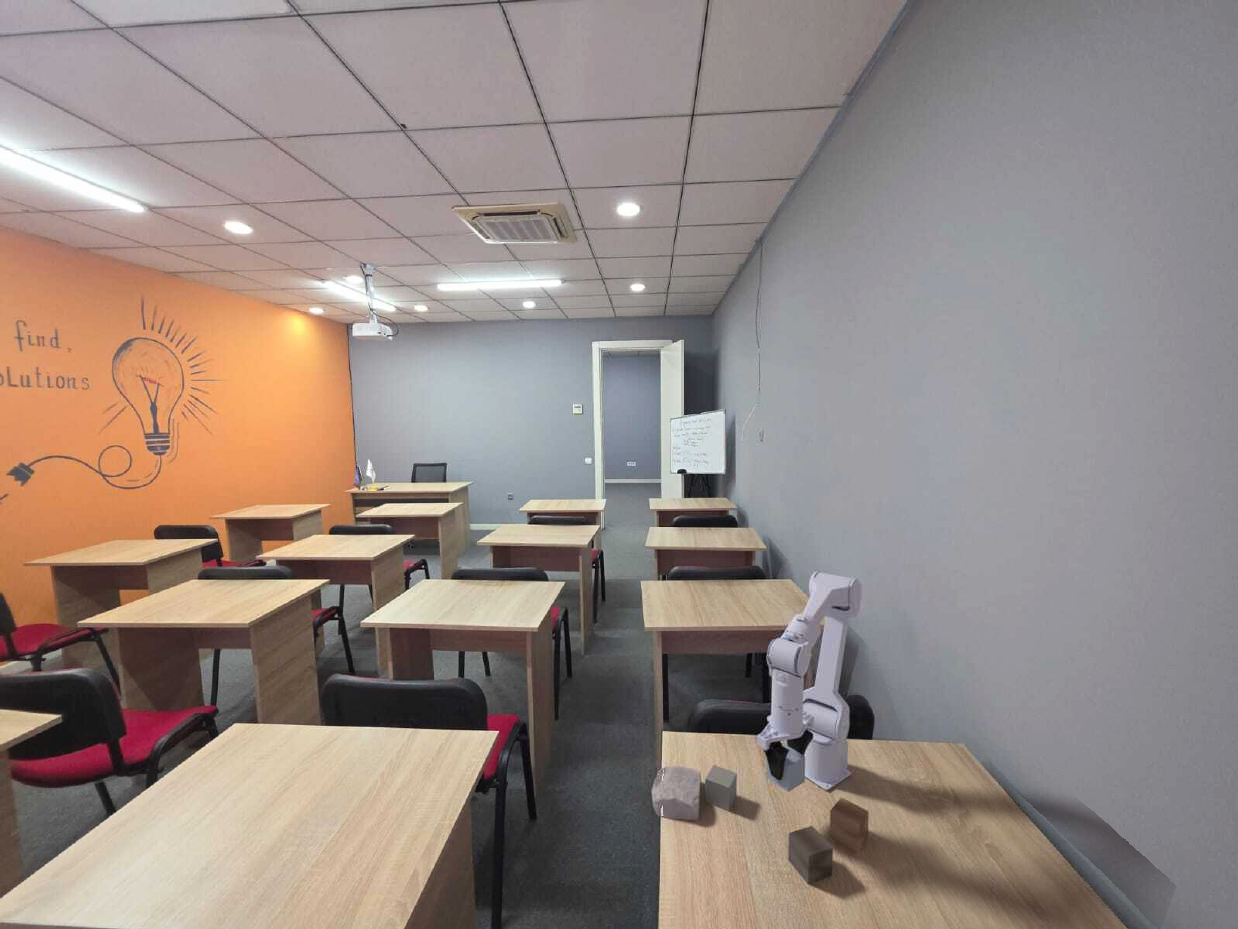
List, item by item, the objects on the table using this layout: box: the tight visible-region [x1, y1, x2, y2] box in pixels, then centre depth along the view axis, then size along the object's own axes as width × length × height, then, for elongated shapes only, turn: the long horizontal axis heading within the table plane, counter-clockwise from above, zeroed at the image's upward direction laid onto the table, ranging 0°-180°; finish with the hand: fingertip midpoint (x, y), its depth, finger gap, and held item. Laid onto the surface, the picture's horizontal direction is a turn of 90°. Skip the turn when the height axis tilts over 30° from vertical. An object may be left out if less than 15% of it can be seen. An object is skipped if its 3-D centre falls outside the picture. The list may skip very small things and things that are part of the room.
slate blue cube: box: [765, 743, 806, 793], centre depth 94 cm, size 5×5×5 cm
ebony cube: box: [787, 825, 834, 885], centre depth 84 cm, size 5×5×5 cm
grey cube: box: [704, 764, 738, 812], centre depth 100 cm, size 5×5×5 cm
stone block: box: [651, 765, 702, 822], centre depth 100 cm, size 12×5×10 cm
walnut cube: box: [829, 796, 870, 853], centre depth 90 cm, size 5×5×5 cm
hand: (785, 771), depth 94 cm, fingers closed on slate blue cube, 5 cm apart
